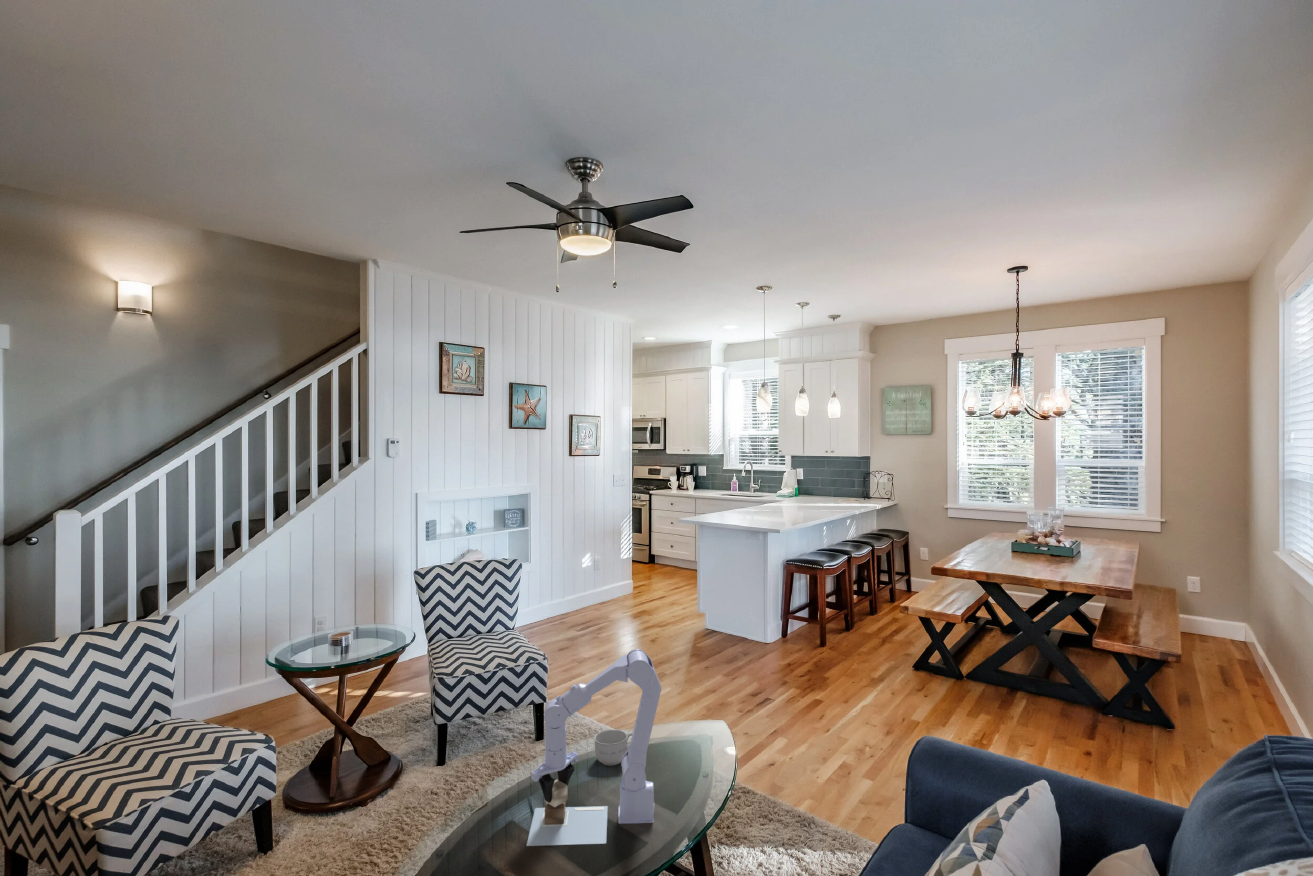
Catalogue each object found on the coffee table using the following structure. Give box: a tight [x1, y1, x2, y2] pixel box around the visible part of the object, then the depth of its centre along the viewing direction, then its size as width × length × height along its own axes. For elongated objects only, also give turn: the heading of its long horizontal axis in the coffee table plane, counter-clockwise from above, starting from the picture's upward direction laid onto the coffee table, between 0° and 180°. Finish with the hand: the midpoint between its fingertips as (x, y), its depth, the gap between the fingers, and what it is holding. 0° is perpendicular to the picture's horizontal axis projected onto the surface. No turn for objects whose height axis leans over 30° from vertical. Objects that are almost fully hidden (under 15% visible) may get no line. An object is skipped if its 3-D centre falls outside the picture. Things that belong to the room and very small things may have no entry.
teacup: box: [593, 729, 633, 767], centre depth 199 cm, size 14×11×8 cm
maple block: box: [543, 779, 569, 807], centre depth 167 cm, size 4×4×4 cm
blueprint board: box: [525, 805, 609, 847], centre depth 164 cm, size 20×16×1 cm
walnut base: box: [544, 801, 566, 824], centre depth 167 cm, size 5×5×4 cm
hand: (555, 797), depth 167 cm, fingers closed on maple block, 4 cm apart
